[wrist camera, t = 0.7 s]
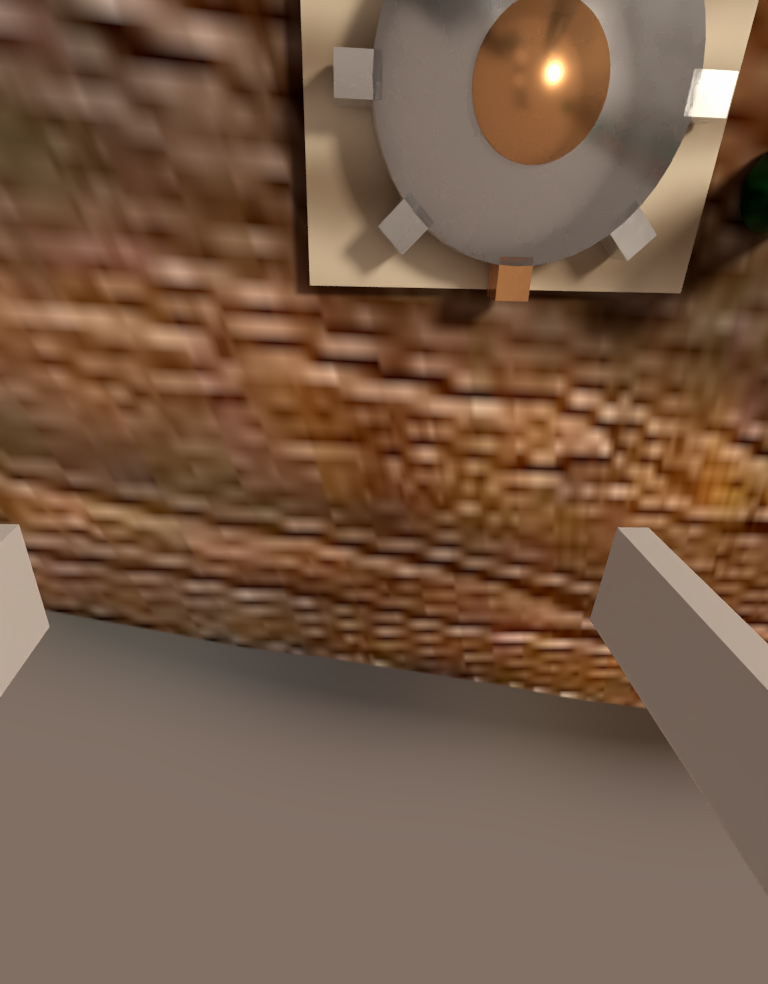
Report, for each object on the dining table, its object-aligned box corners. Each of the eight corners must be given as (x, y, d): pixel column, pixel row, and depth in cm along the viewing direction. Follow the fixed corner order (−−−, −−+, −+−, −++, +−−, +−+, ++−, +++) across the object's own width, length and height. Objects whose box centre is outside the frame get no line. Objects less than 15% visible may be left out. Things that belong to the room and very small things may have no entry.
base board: (295, -184, 24) (293, -205, 23) (782, -136, 26) (802, -153, 25) (310, 283, 33) (309, 285, 32) (671, 291, 35) (683, 293, 34)
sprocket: (329, -216, 23) (328, -381, 17) (776, -170, 25) (925, -302, 18) (336, 293, 32) (336, 310, 26) (659, 300, 34) (731, 316, 28)
